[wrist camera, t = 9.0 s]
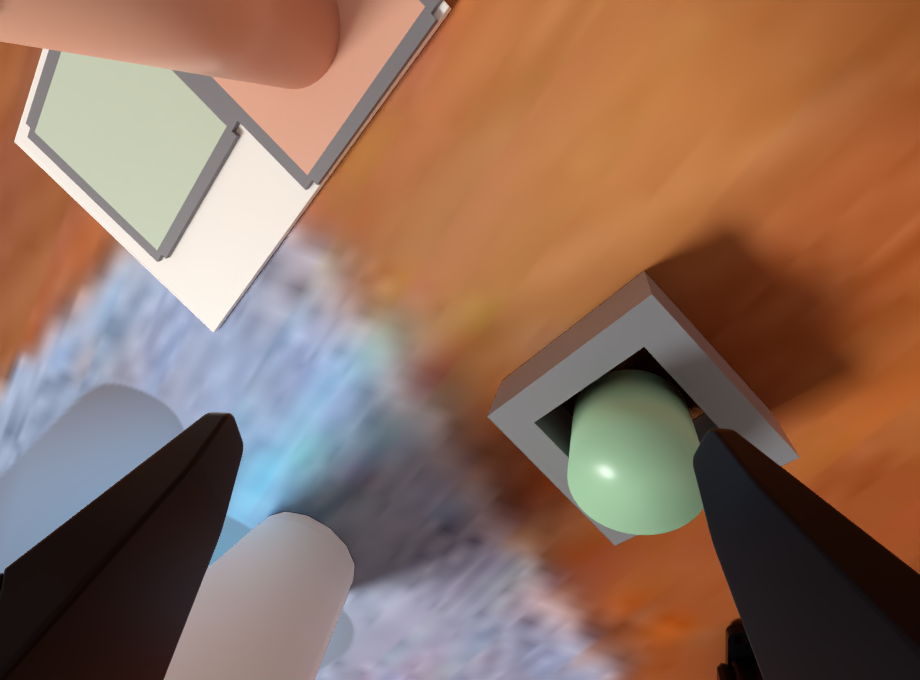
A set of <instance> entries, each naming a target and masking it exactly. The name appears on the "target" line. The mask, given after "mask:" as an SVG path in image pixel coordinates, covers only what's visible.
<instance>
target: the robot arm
mask: <svg viewBox="0 0 920 680" xmlns="http://www.w3.org/2000/svg"><path fill="white" fill-rule="evenodd" d="M242 453H243V441H242V438H241V435H240V432H239V430H238V427H237V424H236V421H235V418H234V416H233V415H232V414H230V413H217V412H211V413H207V414H205V415H204V416H202V417H201V418H200V419H199V420H197V421H196V422H195V423H193V424H192V425H191V426H190V427H188V428H187V429H186V430H184V431H183V432H182V433H180V434H179V435H178V436H177V437H175V438H174V439H173V440H171V441H170V442H169V443H168V444H166V445H165V446H164V447H162V448H161V449H160V450H159V451H157V452H156V453H155V454H154V455H152V456H151V457H149V458H148V459H147V460H146V461H144V462H143V463H142V464H140V465H139V466H138V467H136V468H135V469H134V470H133V471H131V472H130V473H129V474H127V475H126V476H125V477H124V478H122V479H121V480H120V481H118V482H117V483H116V484H114V485H113V486H112V487H111V488H109V489H108V490H107V491H105V492H104V493H103V494H101V496H99V497H98V498H96V499H95V500H94V501H92V502H91V503H90V504H89V505H87V506H86V507H85V508H84V509H82V510H81V511H80V512H78V513H77V514H76V515H74V516H73V517H72V518H70V519H69V520H68V521H67V522H65V523H64V524H63V525H62V526H60V527H59V528H57V529H56V530H55V531H54V532H52V533H51V534H50V535H49V536H47V537H46V538H45V539H43V540H42V541H41V542H39V543H38V544H37V545H36V546H34V547H33V548H32V549H30V550H29V551H28V552H27V553H25V554H24V555H23V556H21V557H20V558H19V559H17V560H16V561H15V562H13V563H12V564H11V565H10V566H8V567H7V568H6V569H5V571H4V574H3V573H0V680H164V678H165V675H166V673H167V670H168V667H169V665H170V662H171V660H172V657H173V655H174V652H175V650H176V647H177V644H178V642H179V639H180V637H181V634H182V632H183V629H184V627H185V624H186V621H187V619H188V616H189V614H190V611H191V609H192V606H193V604H194V601H195V598H196V596H197V593H198V591H199V588H200V586H201V583H202V581H203V578H204V575H205V573H206V570H207V568H208V565H209V563H210V560H211V558H212V555H213V552H214V550H215V547H216V545H217V542H218V539H219V536H220V533H221V531H222V527H223V524H224V521H225V517H226V514H227V510H228V506H229V502H230V499H231V495H232V491H233V487H234V484H235V480H236V476H237V472H238V469H239V465H240V461H241V457H242ZM693 468H694V472H695V476H696V480H697V484H698V488H699V492H700V496H701V500H702V504H703V508H704V511H705V515H706V519H707V523H708V527H709V531H710V534H711V538H712V541H713V544H714V547H715V550H716V553H717V556H718V558H719V561H720V564H721V566H722V569H723V572H724V574H725V577H726V580H727V583H728V585H729V588H730V591H731V593H732V596H733V599H734V601H735V604H736V607H737V609H738V612H739V615H740V617H741V620H742V623H743V625H740V624H734V625H731V626H729V627H728V628H727V629H726V663H721V664H720V665H719V666H718V667H717V680H920V574H918V573H917V572H916V571H915V570H913V569H912V568H911V567H909V566H908V565H907V564H906V563H904V562H903V561H902V560H900V559H899V558H898V557H897V556H895V555H894V554H893V553H891V552H890V551H889V550H888V549H886V548H885V547H884V546H882V545H881V544H880V543H879V542H877V541H876V540H875V539H873V538H872V537H871V536H870V535H868V534H867V533H866V532H864V531H863V530H862V529H861V528H859V527H858V526H857V525H855V524H854V523H853V522H852V521H850V520H849V519H848V518H846V517H845V516H844V515H843V514H841V513H840V512H839V511H837V510H836V509H835V508H834V507H832V506H831V505H830V504H828V503H827V502H826V501H825V500H823V499H822V498H821V497H819V496H818V495H817V494H816V493H814V492H813V491H812V490H810V489H809V488H808V487H807V486H805V485H804V484H803V483H801V482H800V481H799V480H798V479H796V478H795V477H794V476H792V475H791V474H790V473H789V472H787V471H786V470H785V469H783V468H782V467H781V466H780V465H778V464H777V463H776V462H774V461H773V460H772V459H771V458H769V457H768V456H767V455H765V454H764V453H763V452H762V451H760V450H759V449H758V448H756V447H755V446H754V445H753V444H751V443H750V442H749V441H747V440H746V439H745V438H744V437H742V436H741V435H740V434H738V433H737V432H736V431H734V430H731V429H720V428H712V429H710V430H708V431H707V432H706V434H705V435H704V437H703V439H702V441H701V443H700V444H699V446H698V448H697V450H696V452H695V454H694V457H693Z"/></svg>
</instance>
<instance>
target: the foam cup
mask: <svg viewBox="0 0 920 680" xmlns="http://www.w3.org/2000/svg"><path fill="white" fill-rule="evenodd" d="M354 568H355V565H354V562H353V560H352V558H351V555H350V553H349V551H348V548H347V546H346V545H345V544H344V543H343V542H342V541H341V540H340V539H339V538H338V536H337V535H336V534H335V533H334V532H333V531H332V530H331V529H330V528H329V527H327V526H325V525H323V524H321V523H320V522H318V521H316V520H314V519H313V518H311V517H309V516H307V515H301V514H296V513H291V512H282V513H278V514H275V515H271V516H268V517H267V518H266V519H265V520H264V521H263V523H259V524H258V525H257V526H256V527H255V528H254V529H252V530H251V531H250V532H249V533H248V534H247V535H246V536H244V537H243V538H242V539H241V540H240V541H239V542H238V543H236V544H235V545H234V546H233V547H232V548H231V549H229V550H228V551H227V552H226V553H225V554H224V555H222V556H221V557H220V558H219V559H218V560H217V561H216V562H214V563H213V564H212V565H211V566H210V567H209V568H207V570H206V573H205V575H204V578H203V581H202V583H201V586H200V588H199V591H198V593H197V596H196V598H195V601H194V604H193V606H192V609H191V611H190V614H189V616H188V619H187V621H186V624H185V627H184V629H183V632H182V634H181V637H180V639H179V642H178V644H177V647H176V650H175V652H174V655H173V657H172V660H171V662H170V665H169V667H168V670H167V673H166V675H165V678H164V680H315V677H316V675H317V672H318V670H319V667H320V665H321V662H322V659H323V657H324V654H325V652H326V649H327V647H328V644H329V642H330V639H331V637H332V634H333V631H334V629H335V627H336V624H337V622H338V619H339V616H340V614H341V612H342V609H343V607H344V604H345V601H346V599H347V596H348V594H349V589H350V586H351V584H352V583H353V577H354Z"/></svg>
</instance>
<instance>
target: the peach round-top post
mask: <svg viewBox="0 0 920 680" xmlns="http://www.w3.org/2000/svg"><path fill="white" fill-rule="evenodd" d="M339 35H340V19H339V11H338V5H337V2H336V0H0V41H1V42H7V43H13V44H19V45H25V46H31V47H37V48H43V49H49V50H55V51H61V52H67V53H74V54H80V55H86V56H92V57H98V58H104V59H110V60H116V61H122V62H128V63H134V64H140V65H146V66H152V67H158V68H164V69H170V70H176V71H182V72H188V73H194V74H200V75H206V76H212V77H218V78H224V79H230V80H236V81H242V82H248V83H255V84H261V85H267V86H273V87H279V88H285V89H301V88H305V87H307V86H310V85H312V84H313V83H315V82H316V81H318V80H319V79H320V78H321V77H322V76H323V75H324V74H325V73H326V71H327V70H328V68H329V67H330V65H331V63H332V61H333V59H334V57H335V54H336V51H337V47H338V42H339Z"/></svg>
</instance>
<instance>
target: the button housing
mask: <svg viewBox="0 0 920 680" xmlns="http://www.w3.org/2000/svg"><path fill="white" fill-rule="evenodd" d="M643 347H645V348H646V349H647V350H648V352H649V353H650V354H651V355H652V356H653V357H654V358H655V359H656V360H657V361H658V362H659V363H660V365H661V366H662V367H663V368H664V369H665V370H666V371H667V372H668V373H669V374H670V375H671V376H672V378H673V379H674V380H675V381H676V382H677V383H678V384H679V385H680V386H681V387H682V388H683V389H684V391H685V392H686V393H687V394H688V395H689V396H690V397H691V398H692V399H693V400H694V401H695V402H696V404H697V405H698V406H699V407H700V408H701V409H702V410H703V411H704V412H705V414H703V415H701V416H700V417H698V418H696V419H694V420H693V424H694V427H695V430H696V433H697V436H698V439H699V442H700V443H701V441H702V439H703V437H704V435H705V434H706V432H707V431H708V430H710V429H712V428H720V429H731V430H734V431H736V432H737V433H738V434H740V435H741V436H742V437H744V438H745V439H746V440H747V441H749V442H750V443H751V444H753V445H754V446H755V447H756V448H758V449H759V450H760V451H762V452H763V453H764V454H765V455H767V456H768V457H769V458H771V459H772V460H773V461H774V462H776V463H777V464H778V465H780V466H783V465H785V464H787V463H789V462H791V461H793V460H795V459H797V458H799V456H798V454H797V452H796V451H795V449H794V447H793V446H792V444H791V443H790V441H789V439H788V438H787V436H786V435H785V433H784V431H783V430H782V428H781V427H780V425H779V423H778V422H777V420H776V419H775V417H774V415H773V414H772V412H771V411H770V410H769V409H768V407H767V406H766V405H765V404H764V403H763V402H762V401H761V400H760V399H759V397H758V396H757V395H756V394H755V393H754V392H753V391H752V390H751V389H750V387H749V386H748V385H747V384H746V383H745V382H744V381H743V380H742V379H741V377H740V376H739V375H738V374H737V373H736V372H735V371H734V370H733V369H732V368H731V366H730V365H729V364H728V363H727V362H726V361H725V360H724V359H723V358H722V356H721V355H720V354H719V353H718V352H717V351H716V350H715V349H714V348H713V346H712V345H711V344H710V343H709V342H708V341H707V340H706V339H705V338H704V336H703V335H702V334H701V333H700V332H699V331H698V330H697V329H696V328H695V326H694V325H693V324H692V323H691V322H690V321H689V320H688V319H687V318H686V317H685V315H684V314H683V313H682V312H681V311H680V310H679V309H678V308H677V307H676V305H675V304H674V303H673V302H672V301H671V300H670V299H669V298H668V297H667V295H666V294H665V293H664V292H663V291H662V290H661V289H660V288H659V287H658V285H657V284H656V283H655V282H654V281H653V280H652V279H651V278H650V277H649V275H648V274H647V273H646V272H645V271H643V272H642V273H640V274H639V275H638V276H637V277H635V278H634V279H633V280H631V281H630V282H629V283H628V284H626V285H625V286H624V287H622V288H621V289H620V290H619V291H617V292H616V293H615V294H613V295H612V296H611V297H610V298H608V299H607V300H606V301H604V302H603V303H602V304H600V305H599V306H598V307H597V308H595V309H594V310H593V311H591V312H590V313H589V314H588V315H586V316H585V317H584V318H582V319H581V320H580V321H579V322H577V323H576V324H575V325H573V326H572V327H571V328H570V329H568V330H567V331H566V332H564V333H563V334H562V335H561V336H559V337H558V338H557V339H555V340H554V341H553V342H551V343H550V344H549V345H548V346H546V347H545V348H544V349H542V350H541V351H540V352H539V353H537V354H536V355H535V356H533V357H532V358H531V359H530V360H528V361H527V362H526V363H524V364H523V365H522V366H521V367H519V368H518V369H517V370H515V371H514V372H513V373H512V374H510V375H509V376H508V377H506V378H505V379H504V380H503V381H501V384H500V386H499V389H498V391H497V394H496V396H495V399H494V401H493V403H492V406H491V408H490V411H489V413H488V416H487V417H488V418H489V419H490V420H491V421H492V422H493V423H494V424H495V425H496V426H497V427H498V428H499V429H500V430H501V431H502V432H503V433H504V434H505V435H506V436H507V437H508V438H509V439H510V440H511V441H512V442H513V443H514V444H515V445H516V446H517V447H518V448H519V449H520V450H521V451H522V452H523V453H524V454H525V455H526V456H527V457H528V458H529V459H530V460H531V461H532V462H533V463H534V464H535V465H536V466H537V467H538V468H539V469H540V470H541V471H542V472H543V473H544V474H545V475H546V477H547V478H548V479H549V480H550V481H551V482H552V483H553V484H554V485H555V486H556V487H557V488H558V489H559V490H560V491H561V492H562V493H563V494H564V495H565V496H566V497H567V498H568V499H569V500H570V501H571V502H572V503H573V504H574V505H575V506H576V507H577V508H578V509H579V510H580V511H581V512H582V513H583V514H584V515H585V516H586V517H587V518H588V519H589V520H590V521H591V522H592V523H593V524H594V525H595V526H596V527H597V528H598V529H599V530H600V531H601V532H602V533H603V534H604V535H605V536H606V537H607V538H608V539H609V540H610V541H611V542H612V543H613V544H614V545H615V546H616V545H618V544H620V543H622V542H624V541H626V540H628V539H630V538H632V537H634V536H636V535H635V534H627V533H623V532H619V531H616V530H613V529H610V528H608V527H606V526H603V525H602V524H600V523H598V522H596V521H595V520H593V519H592V518H591V517H589V516H588V515H587V514H586V513H585V512H584V511H583V510H582V509H581V508H580V507H579V506H578V504H577V503H576V501H575V500H574V498H573V496H572V494H571V492H570V489H569V486H568V480H567V471H568V461H569V451H570V441H571V431H572V421H573V417H572V416H571V415H570V414H569V412H568V411H567V410H566V409H565V408H564V407H563V406H562V405H561V404H562V403H563V402H565V401H566V400H568V399H569V398H571V397H572V396H574V395H575V394H576V393H578V392H579V391H581V390H582V389H584V388H585V387H587V386H588V385H589V384H591V383H592V382H594V381H595V380H597V379H598V378H600V377H601V376H603V375H604V374H605V373H607V372H608V371H610V370H611V369H613V368H614V367H616V366H617V365H618V364H620V363H621V362H623V361H624V360H626V359H627V358H629V357H630V356H632V355H633V354H634V353H636V352H637V351H639V350H640V349H642V348H643Z"/></svg>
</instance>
